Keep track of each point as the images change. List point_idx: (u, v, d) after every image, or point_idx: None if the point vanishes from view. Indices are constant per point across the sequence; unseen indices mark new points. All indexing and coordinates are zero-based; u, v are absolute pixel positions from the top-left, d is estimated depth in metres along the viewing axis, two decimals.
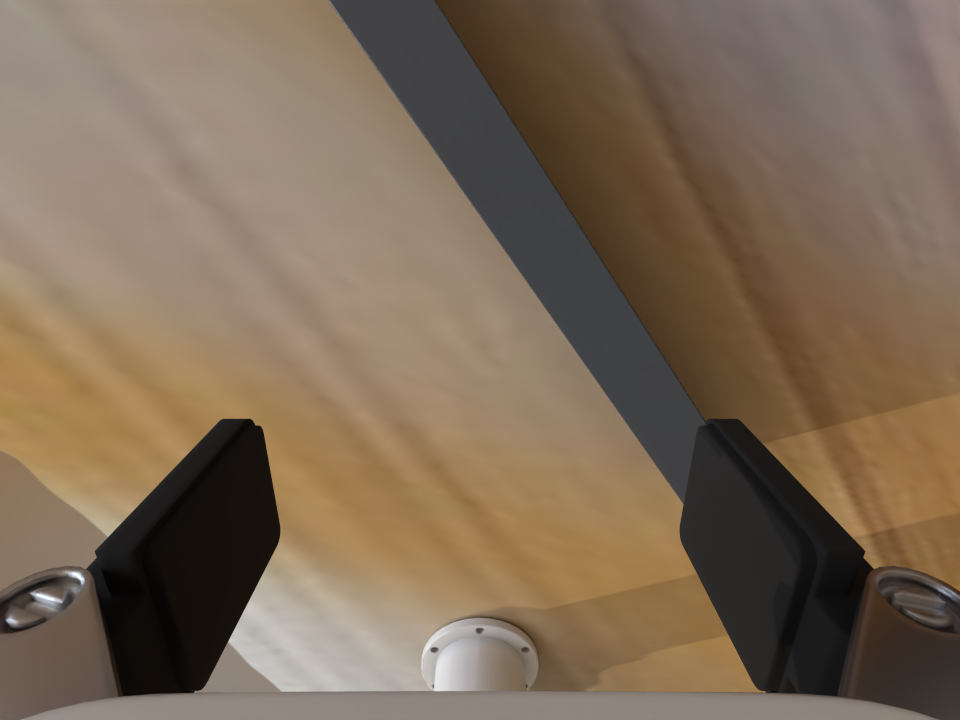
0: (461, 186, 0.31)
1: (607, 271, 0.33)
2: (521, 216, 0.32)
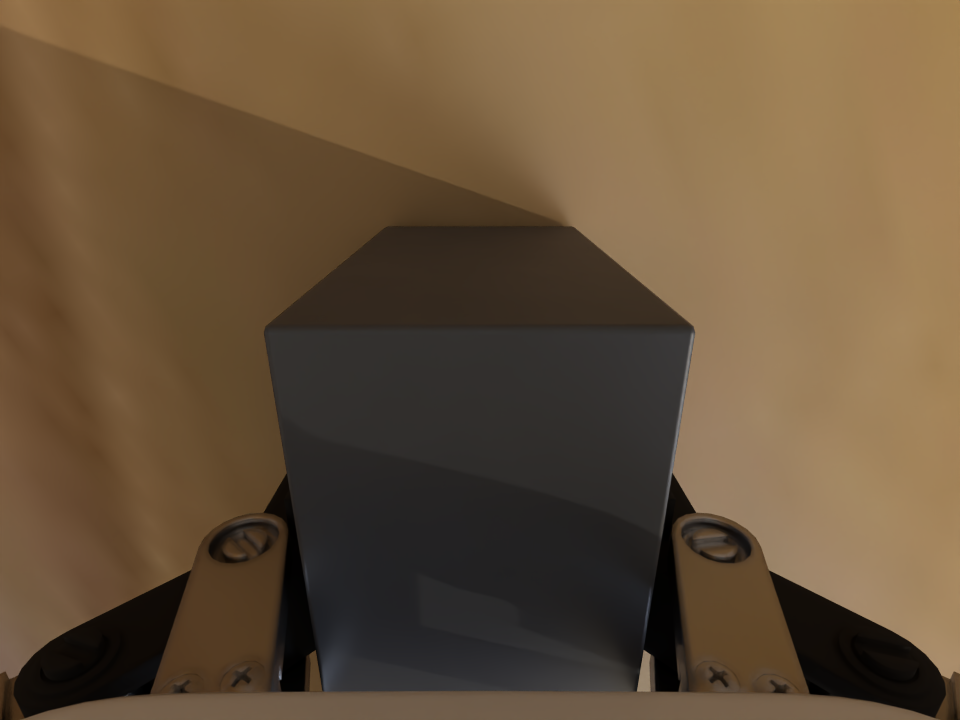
0: None
1: None
2: None
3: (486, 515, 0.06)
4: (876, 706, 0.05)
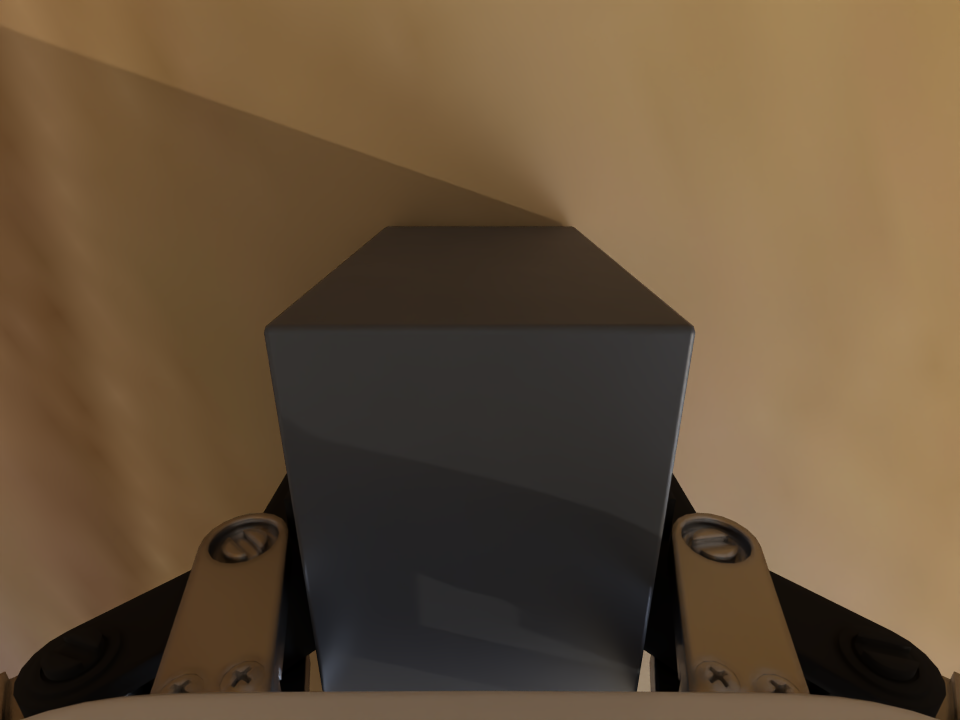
0: None
1: None
2: None
3: (487, 514, 0.06)
4: (876, 706, 0.05)
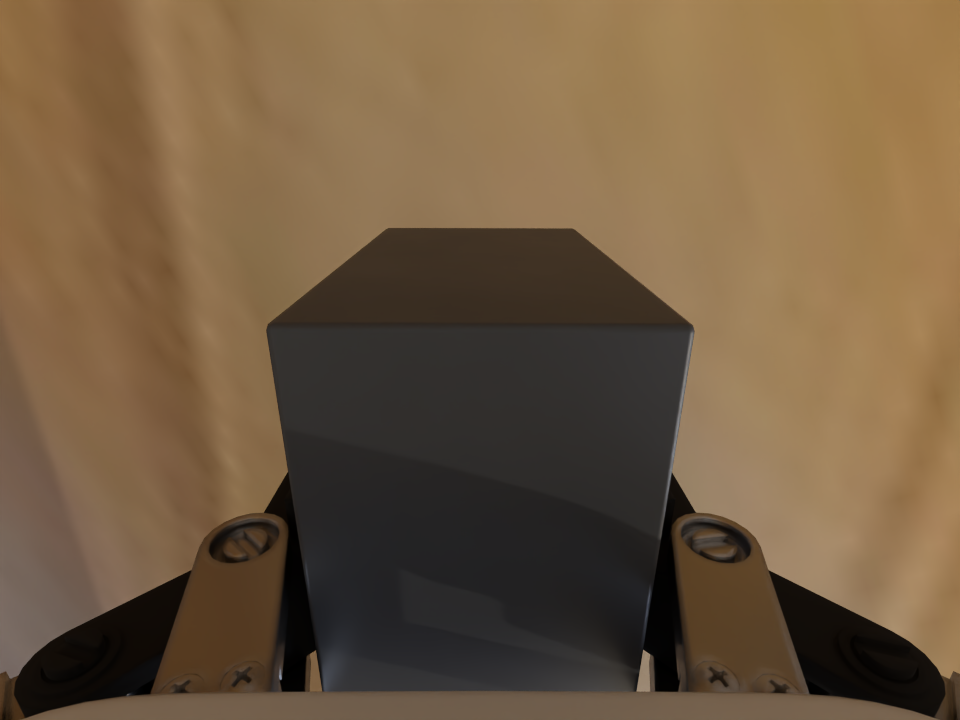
0: None
1: None
2: None
3: (487, 513, 0.06)
4: (876, 706, 0.05)
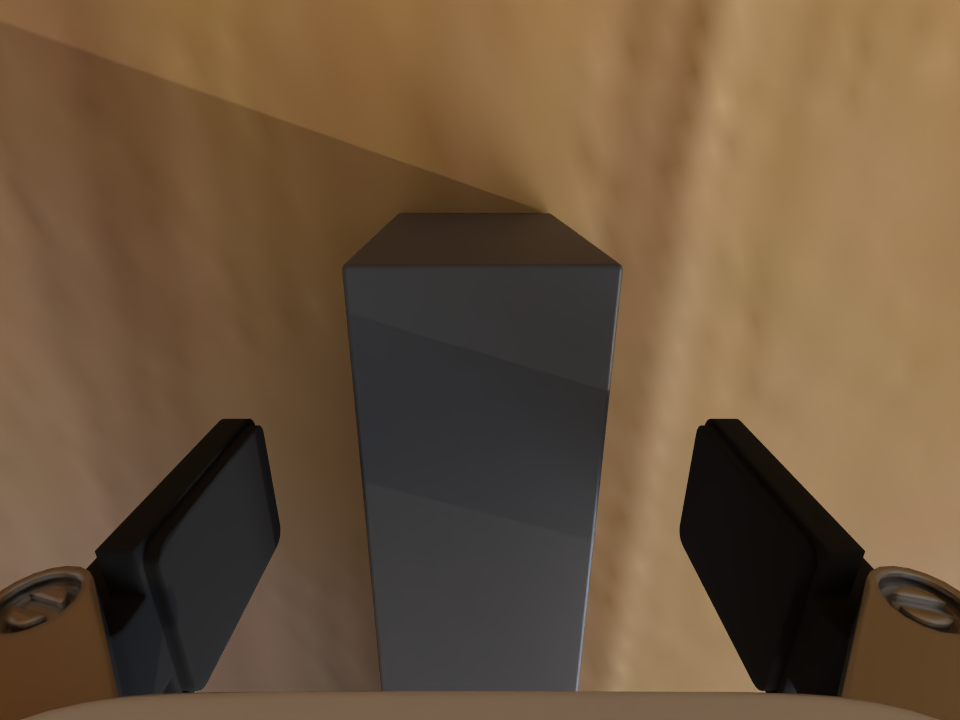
0: None
1: None
2: None
3: (487, 398, 0.09)
4: (876, 706, 0.05)
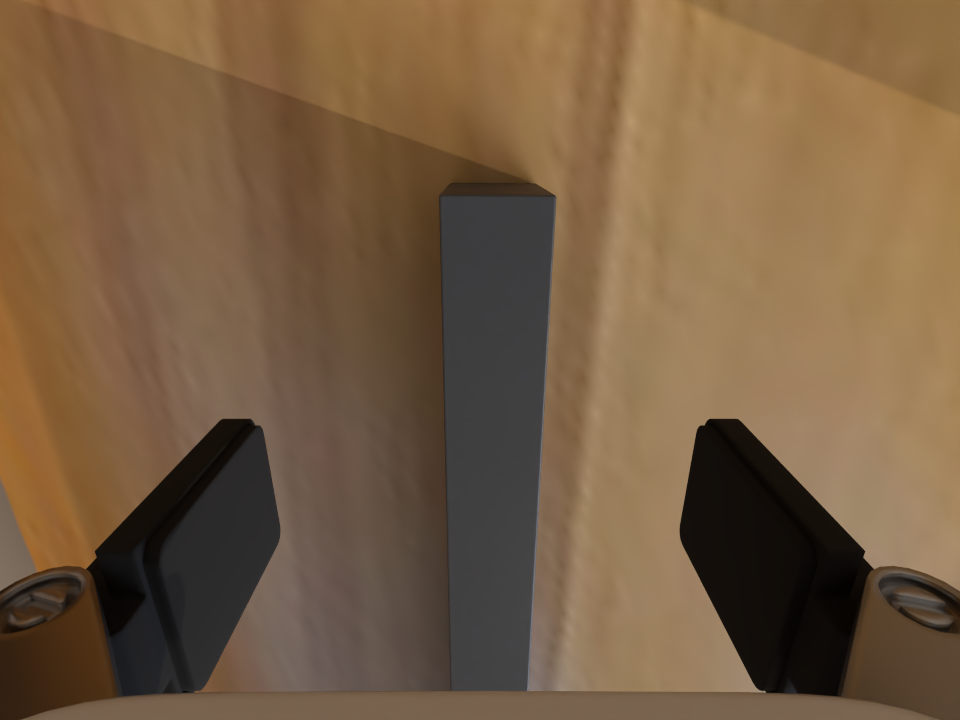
0: None
1: (450, 604, 0.29)
2: (494, 681, 0.31)
3: (498, 256, 0.21)
4: (876, 706, 0.05)
